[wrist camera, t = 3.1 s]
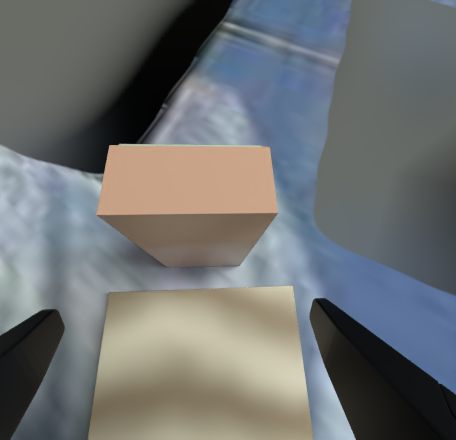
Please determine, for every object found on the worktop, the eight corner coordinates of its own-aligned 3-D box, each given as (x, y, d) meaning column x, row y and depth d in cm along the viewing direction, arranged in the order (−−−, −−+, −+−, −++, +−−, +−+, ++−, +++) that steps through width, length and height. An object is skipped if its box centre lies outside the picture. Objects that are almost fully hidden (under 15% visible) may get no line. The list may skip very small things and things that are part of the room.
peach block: (239, 265, 20) (277, 213, 8) (167, 267, 19) (96, 214, 8) (238, 231, 21) (268, 141, 9) (169, 232, 20) (110, 140, 9)
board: (322, 550, 14) (331, 568, 13) (74, 581, 13) (63, 603, 12) (288, 286, 19) (292, 285, 18) (114, 292, 18) (109, 292, 17)
